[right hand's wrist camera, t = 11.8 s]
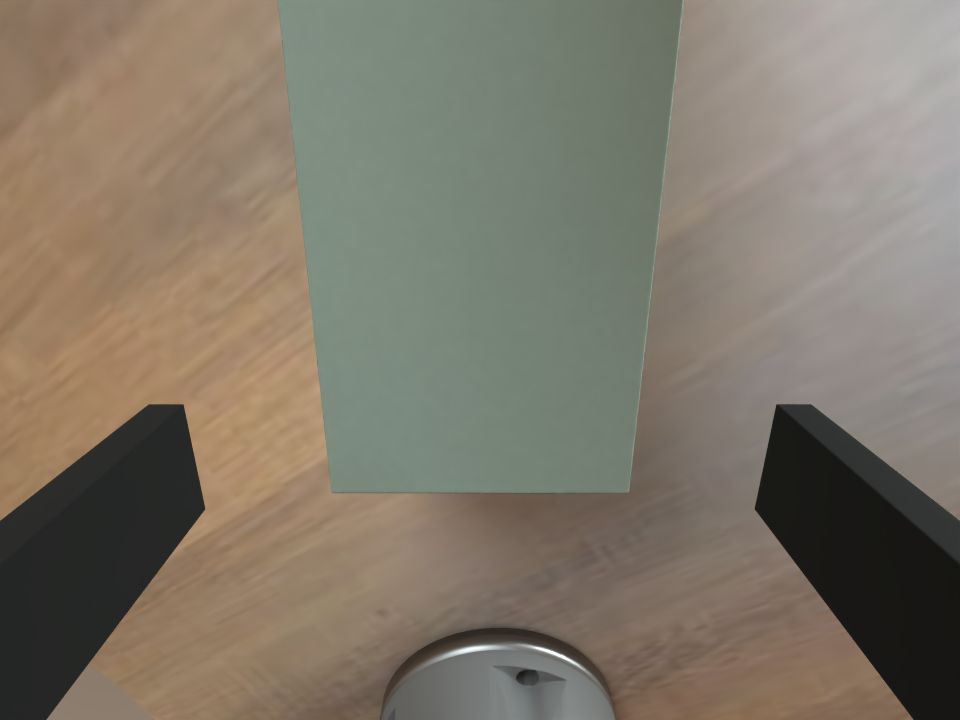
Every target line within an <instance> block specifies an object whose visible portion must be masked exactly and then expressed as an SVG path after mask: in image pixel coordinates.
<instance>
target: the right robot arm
mask: <svg viewBox="0 0 960 720" xmlns="http://www.w3.org/2000/svg"><path fill="white" fill-rule="evenodd" d="M204 510H205V505H204V501H203V496H202V491H201V486H200V481H199V477H198V472H197V467H196V462H195V457H194V453H193V448H192V443H191V438H190V433H189V429H188V424H187V419H186V414H185V409H184V405H183V404H149V405H148V406H146V407H145V408H144V409H142V410H141V411H140V412H139V413H137V414H136V415H135V416H134V417H132V418H131V419H130V420H128V421H127V422H126V423H125V424H123V425H122V426H121V427H119V428H118V429H117V430H116V431H114V432H113V433H112V434H111V435H109V436H108V437H107V438H105V439H104V440H103V441H102V442H100V443H99V444H98V445H97V446H95V447H94V448H93V449H91V450H90V451H89V452H88V453H86V454H85V455H84V456H82V457H81V458H80V459H79V460H77V461H76V462H75V463H74V464H72V465H71V466H70V467H68V468H67V469H66V470H65V471H63V472H62V473H61V474H59V475H58V476H57V477H56V478H54V479H53V480H52V481H51V482H49V483H48V484H47V485H45V486H44V487H43V488H42V489H40V490H39V491H38V492H37V493H35V494H34V495H33V496H31V497H30V498H29V499H28V500H26V501H25V502H24V503H22V504H21V505H20V506H19V507H17V508H16V509H15V510H14V511H12V512H11V513H10V514H8V515H7V516H6V517H5V518H3V519H2V520H1V521H0V720H46V719H47V718H48V717H49V715H50V714H51V713H52V711H53V710H54V709H55V707H56V706H57V705H58V703H59V702H60V701H61V699H62V698H63V697H64V695H65V694H66V693H67V691H68V690H69V689H70V688H71V686H72V685H73V684H74V682H75V681H76V680H77V678H78V677H79V675H80V674H81V673H82V672H83V670H84V669H85V668H86V666H87V665H88V664H89V662H90V661H91V660H92V658H93V657H94V656H95V654H96V653H97V652H98V650H99V649H100V648H101V646H102V645H103V644H104V642H105V641H106V640H107V639H108V637H109V636H110V635H111V633H112V632H113V631H114V629H115V628H116V627H117V625H118V624H119V623H120V621H121V620H122V619H123V617H124V616H125V615H126V613H127V612H128V611H129V609H130V608H131V607H132V605H133V604H134V603H135V601H136V600H137V599H138V597H139V596H140V595H141V593H142V592H143V591H144V590H145V588H146V587H147V586H148V584H149V583H150V582H151V580H152V579H153V578H154V576H155V575H156V574H157V572H158V571H159V570H160V568H161V567H162V566H163V564H164V563H165V562H166V560H167V559H168V558H169V556H170V555H171V554H172V552H173V551H174V550H175V548H176V547H177V546H178V544H179V543H180V542H181V540H182V539H183V538H184V537H185V535H186V534H187V533H188V531H189V530H190V529H191V527H192V526H193V525H194V523H195V522H196V521H197V519H198V518H199V517H200V515H201V514H202V513H203V511H204ZM755 510H756V511H757V513H758V514H759V515H760V517H761V518H762V519H763V521H764V522H765V523H766V525H767V526H768V527H769V529H770V530H771V531H772V533H773V534H774V535H775V537H776V538H777V539H778V540H779V542H780V543H781V544H782V546H783V547H784V548H785V550H786V551H787V552H788V554H789V555H790V556H791V558H792V559H793V560H794V562H795V563H796V564H797V566H798V567H799V568H800V570H801V571H802V572H803V574H804V575H805V576H806V578H807V579H808V580H809V582H810V583H811V584H812V586H813V587H814V588H815V590H816V591H817V592H818V593H819V595H820V596H821V597H822V599H823V600H824V601H825V603H826V604H827V605H828V607H829V608H830V609H831V611H832V612H833V613H834V615H835V616H836V617H837V619H838V620H839V621H840V623H841V624H842V625H843V627H844V628H845V629H846V631H847V632H848V633H849V635H850V636H851V637H852V639H853V640H854V641H855V642H856V644H857V645H858V646H859V648H860V649H861V650H862V652H863V653H864V654H865V656H866V657H867V658H868V660H869V661H870V662H871V664H872V665H873V666H874V668H875V669H876V670H877V672H878V673H879V674H880V676H881V677H882V678H883V680H884V681H885V682H886V684H887V685H888V686H889V688H890V689H891V690H892V691H893V693H894V694H895V695H896V697H897V698H898V699H899V701H900V702H901V703H902V705H903V706H904V707H905V709H906V710H907V711H908V713H909V714H910V715H911V717H912V718H913V719H914V720H960V521H959V520H958V519H957V518H955V517H954V516H953V515H952V514H950V513H949V512H948V511H946V510H945V509H944V508H943V507H941V506H940V505H939V504H938V503H936V502H935V501H934V500H932V499H931V498H930V497H929V496H927V495H926V494H925V493H923V492H922V491H921V490H920V489H918V488H917V487H916V486H915V485H913V484H912V483H911V482H909V481H908V480H907V479H906V478H904V477H903V476H902V475H901V474H899V473H898V472H897V471H895V470H894V469H893V468H892V467H890V466H889V465H888V464H886V463H885V462H884V461H883V460H881V459H880V458H879V457H878V456H876V455H875V454H874V453H872V452H871V451H870V450H869V449H867V448H866V447H865V446H863V445H862V444H861V443H860V442H858V441H857V440H856V439H855V438H853V437H852V436H851V435H849V434H848V433H847V432H846V431H844V430H843V429H842V428H841V427H839V426H838V425H837V424H835V423H834V422H833V421H832V420H830V419H829V418H828V417H826V416H825V415H824V414H823V413H821V412H820V411H819V410H818V409H816V408H815V407H814V406H812V405H811V404H777V405H776V409H775V414H774V419H773V424H772V429H771V433H770V438H769V443H768V448H767V453H766V457H765V462H764V467H763V472H762V477H761V481H760V486H759V491H758V496H757V501H756V505H755ZM380 720H616V716H615V712H614V708H613V704H612V700H611V695H610V692H609V689H608V686H607V684H606V682H605V680H604V678H603V676H602V675H601V673H600V672H599V671H598V669H597V668H596V667H595V665H594V664H593V663H592V662H591V661H590V660H589V659H587V658H586V657H585V656H584V655H583V654H581V653H580V652H579V651H577V650H576V649H574V648H572V647H571V646H569V645H567V644H565V643H563V642H561V641H559V640H557V639H554V638H552V637H549V636H546V635H543V634H540V633H535V632H531V631H526V630H519V629H509V628H488V629H478V630H471V631H466V632H461V633H457V634H454V635H451V636H448V637H445V638H442V639H440V640H437V641H435V642H433V643H431V644H429V645H427V646H425V647H424V648H422V649H421V650H419V651H417V652H416V653H415V654H414V655H412V656H411V657H410V658H408V659H407V660H406V661H405V662H404V663H403V664H402V665H401V666H400V668H399V669H398V670H397V671H396V673H395V674H394V676H393V677H392V679H391V680H390V682H389V684H388V686H387V689H386V692H385V695H384V699H383V705H382V710H381V716H380Z"/></svg>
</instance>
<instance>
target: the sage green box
mask: <svg viewBox="0 0 960 720" xmlns="http://www.w3.org/2000/svg"><path fill="white" fill-rule="evenodd" d="M683 5H684V0H278V7H279V16H280V25H281V34H282V43H283V53H284V62H285V71H286V80H287V89H288V98H289V107H290V116H291V126H292V135H293V144H294V153H295V162H296V171H297V180H298V189H299V199H300V208H301V217H302V226H303V235H304V244H305V253H306V262H307V272H308V281H309V290H310V299H311V308H312V317H313V326H314V335H315V345H316V354H317V363H318V372H319V381H320V390H321V399H322V408H323V418H324V427H325V436H326V445H327V454H328V463H329V472H330V481H331V491H332V493H629V487H630V478H631V469H632V460H633V451H634V442H635V433H636V424H637V415H638V406H639V398H640V389H641V380H642V371H643V362H644V353H645V344H646V335H647V326H648V317H649V308H650V299H651V291H652V282H653V273H654V264H655V255H656V246H657V237H658V228H659V219H660V210H661V201H662V192H663V184H664V175H665V166H666V157H667V148H668V139H669V130H670V121H671V112H672V103H673V94H674V85H675V77H676V68H677V59H678V50H679V41H680V32H681V23H682V14H683Z"/></svg>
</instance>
